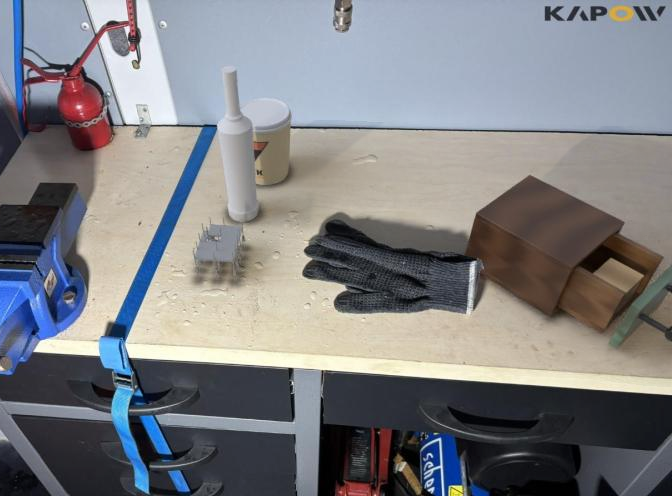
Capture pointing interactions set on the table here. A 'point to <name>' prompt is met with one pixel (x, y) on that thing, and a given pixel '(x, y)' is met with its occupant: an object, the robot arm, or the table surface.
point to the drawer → (617, 290)
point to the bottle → (237, 152)
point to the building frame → (220, 246)
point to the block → (620, 278)
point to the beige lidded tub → (269, 138)
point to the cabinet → (537, 240)
